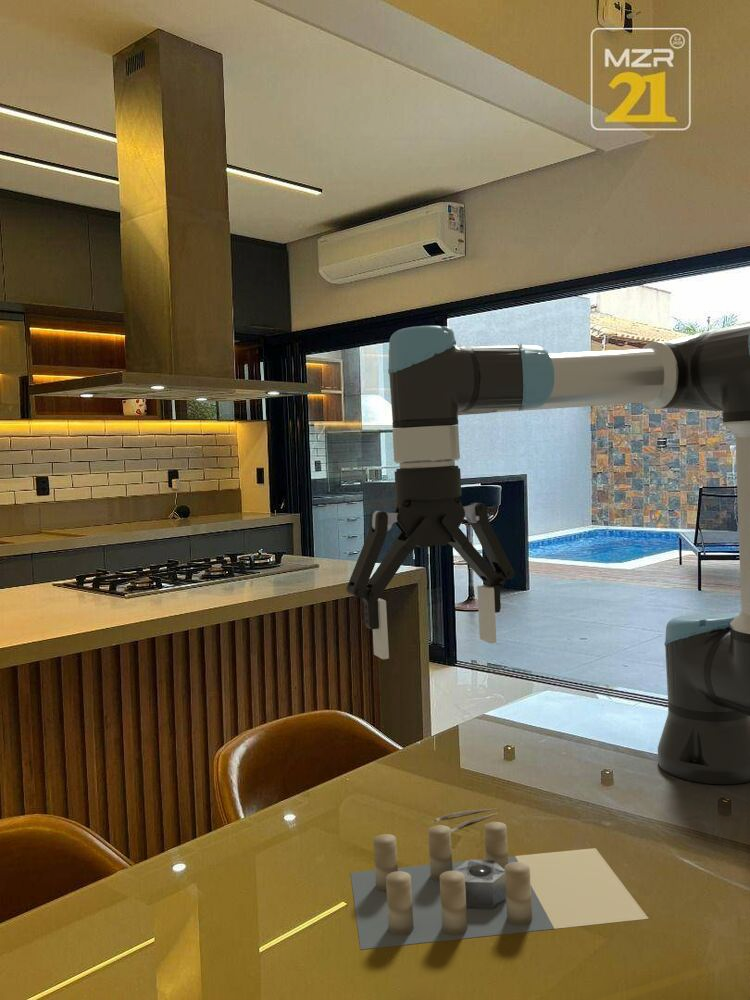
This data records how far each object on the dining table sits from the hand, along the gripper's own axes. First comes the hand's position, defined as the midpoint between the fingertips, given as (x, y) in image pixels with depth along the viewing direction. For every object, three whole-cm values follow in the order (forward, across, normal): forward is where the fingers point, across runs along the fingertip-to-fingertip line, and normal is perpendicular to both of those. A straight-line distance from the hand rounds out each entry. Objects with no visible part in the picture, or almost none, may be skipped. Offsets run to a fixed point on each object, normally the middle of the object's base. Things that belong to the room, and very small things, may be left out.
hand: (436, 648), depth 100 cm
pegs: (+27, +2, +6) cm, 27 cm away
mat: (+27, -2, +6) cm, 28 cm away
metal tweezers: (+28, -13, -12) cm, 33 cm away
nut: (+27, -1, +7) cm, 27 cm away
